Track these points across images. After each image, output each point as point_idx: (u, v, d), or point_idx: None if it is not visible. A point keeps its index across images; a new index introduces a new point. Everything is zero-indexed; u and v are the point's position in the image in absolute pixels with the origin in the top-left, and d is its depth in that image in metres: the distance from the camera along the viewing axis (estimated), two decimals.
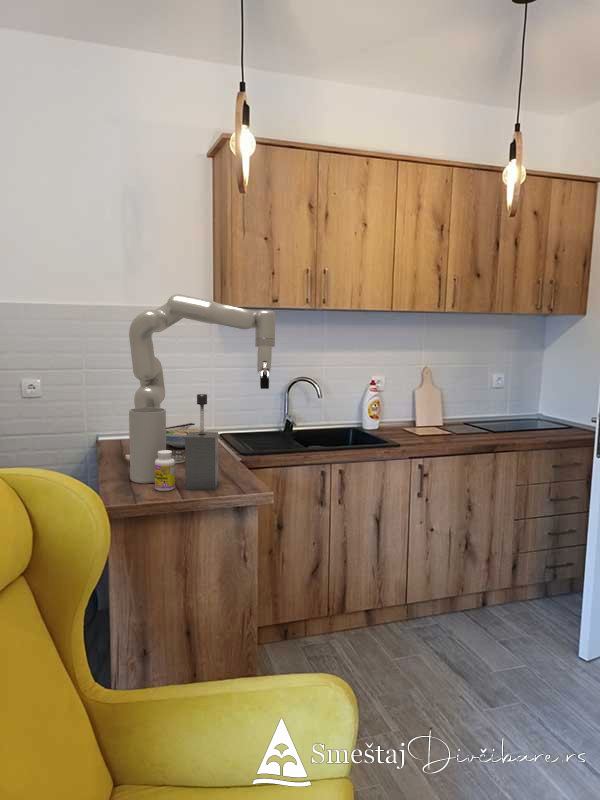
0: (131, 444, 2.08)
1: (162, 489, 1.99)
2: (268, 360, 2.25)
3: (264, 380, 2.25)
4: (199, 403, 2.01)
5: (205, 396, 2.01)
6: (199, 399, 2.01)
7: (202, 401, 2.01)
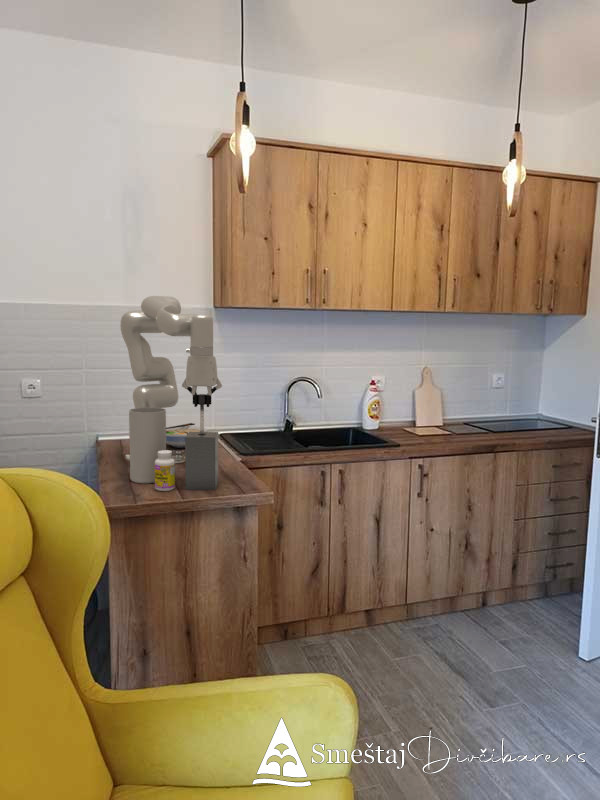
0: (131, 444, 2.08)
1: (162, 489, 1.99)
2: None
3: None
4: (199, 403, 2.01)
5: (205, 396, 2.01)
6: (199, 399, 2.01)
7: (202, 401, 2.01)
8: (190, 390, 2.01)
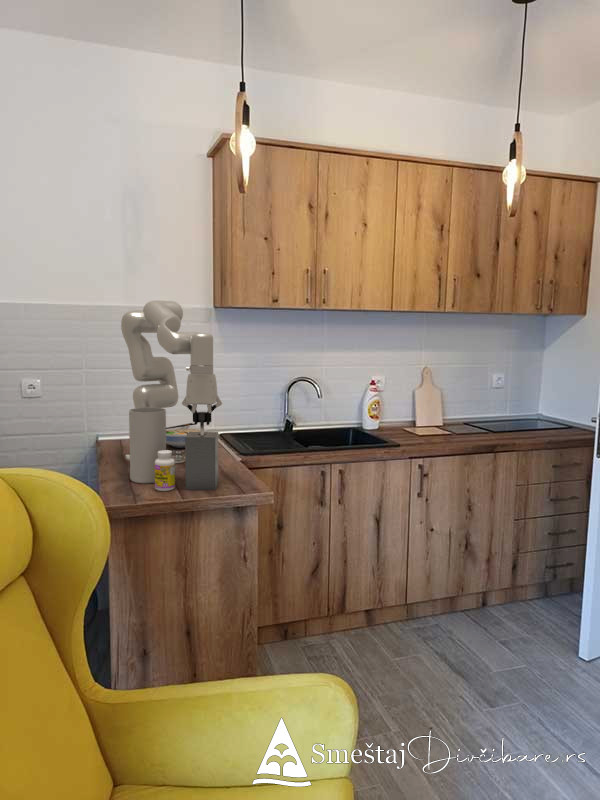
0: (131, 444, 2.08)
1: (162, 489, 1.99)
2: None
3: None
4: (199, 421, 2.02)
5: (205, 414, 2.02)
6: (199, 417, 2.02)
7: (202, 419, 2.02)
8: (190, 408, 2.02)
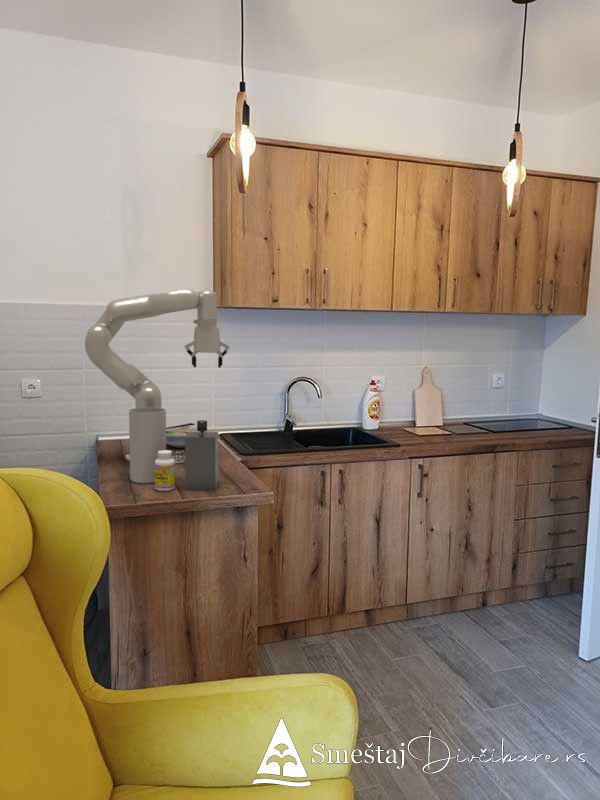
0: (131, 444, 2.08)
1: (162, 489, 1.99)
2: None
3: None
4: (199, 430, 2.02)
5: (205, 423, 2.03)
6: (199, 425, 2.02)
7: (202, 427, 2.02)
8: (191, 352, 2.33)
